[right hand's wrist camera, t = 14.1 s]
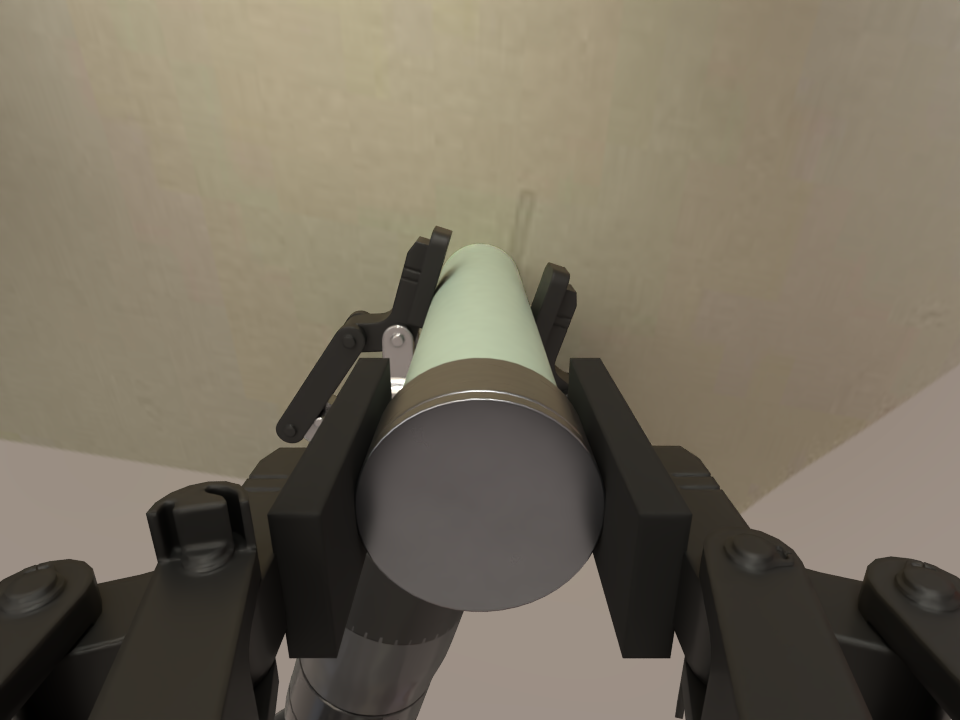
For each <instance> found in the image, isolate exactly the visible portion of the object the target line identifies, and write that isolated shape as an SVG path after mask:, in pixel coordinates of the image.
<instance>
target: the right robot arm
mask: <svg viewBox="0 0 960 720" xmlns="http://www.w3.org/2000/svg"><path fill="white" fill-rule="evenodd" d="M391 400H392V390H391V373H390V358H359V360H358V362H357V363H356V365H355V367H354V369H353V370H352V372H351V374H350V375H349V377H348V379H347V380H346V382H345V384H344V385H343V387H342V389H341V390H340V392H339V394H338V396H337V397H336V399H335V401H334V402H333V404H332V406H331V407H330V409H329V411H328V412H327V414H326V416H325V417H324V419H323V421H322V423H321V424H320V426H319V428H318V429H317V431H316V433H315V434H314V436H313V438H312V439H311V441H310V443H309V444H308V446H307V448H279V449H277V450H276V451H274V452H273V453H271V454H270V455H268V456H267V457H265V458H264V459H262V460H261V461H260V462H259V463H258V465H257V466H256V467H255V469H254V470H253V471H252V473H251V474H250V476H249V479H247V480H246V481H245V483H244V484H243V485H242V486H240V485H239V484H235V483H230V482H227V481H216V482H204V483H199V484H195V485H190V486H187V487H185V488H182V489H179V490H177V491H174V492H172V493H170V494H168V495H167V496H165V497H163V498H162V499H160V500H159V501H157V502H156V503H155V504H154V505H153V506H152V507H151V508H150V509H149V511H148V512H147V513H146V516H147V520H148V524H149V528H150V532H151V536H152V540H153V544H154V548H155V552H156V556H157V561H158V564H157V566H156V568H155V570H154V571H152V572H148V573H145V574H141V575H137V576H132V577H127V578H123V579H118V580H113V581H109V582H104V583H99V584H97V581H96V578H95V575H94V571H93V569H92V568H91V567H90V566H89V565H88V564H87V563H85V562H84V561H78V560H72V559H66V560H57V561H49V562H45V563H41V564H39V565H34V566H31V567H28V568H25V569H23V570H22V571H20V572H18V573H16V574H14V575H12V576H10V577H7V578H5V579H3V580H2V581H1V582H0V720H274V719H275V711H276V702H277V693H278V685H279V679H278V671H277V665H276V659H275V657H276V654H277V652H278V649H279V647H280V645H281V642H282V640H283V637H284V635H285V633H286V639H287V646H288V652H289V658H337V656H338V652H339V649H340V645H341V642H342V638H343V635H344V631H345V628H346V624H347V621H348V617H349V614H350V610H351V607H352V603H353V600H354V596H355V593H356V589H357V585H358V582H359V578H360V575H361V571H362V568H363V564H364V561H365V557H366V554H367V551H366V549H365V547H364V545H363V543H362V540H361V538H360V535H359V533H358V529H357V524H356V515H355V504H354V498H355V489H356V484H357V480H358V476H359V473H360V471H361V468H362V466H363V463H364V460H365V458H366V455H367V452H368V450H369V447H370V444H371V442H372V439H373V437H374V434H375V431H376V429H377V426H378V424H379V421H380V419H381V416H382V414H383V412H384V410H385V409H386V407H387V405H388V404H389V402H390V401H391ZM568 400H569V401H570V402H571V404H572V405H573V407H574V409H575V411H576V412H577V414H578V416H579V419H580V421H581V424H582V426H583V429H584V432H585V434H586V437H587V440H588V442H589V445H590V448H591V450H592V453H593V455H594V458H595V461H596V463H597V466H598V469H599V471H600V474H601V477H602V480H603V484H604V489H605V512H604V522H603V528H602V532H601V535H600V538H599V540H598V542H597V545H596V547H595V549H594V551H593V555H594V558H595V562H596V566H597V569H598V573H599V576H600V579H601V583H602V587H603V590H604V594H605V597H606V601H607V604H608V608H609V611H610V615H611V618H612V622H613V625H614V629H615V632H616V636H617V639H618V643H619V646H620V650H621V653H622V657H623V658H670V656H671V650H672V643H673V637H674V631H675V633H676V635H677V638H678V640H679V643H680V645H681V647H682V650H683V652H684V655H685V659H684V665H683V671H682V677H681V683H680V689H679V694H678V700H677V707H676V714H675V717H676V718H681V719H683V714H684V709H685V718H686V720H951V719H952V720H960V579H959V578H958V577H956V576H954V575H952V574H950V573H948V572H946V571H944V570H942V569H940V568H938V567H936V566H934V565H931V564H928V563H926V562H924V563H923V562H921V561H918V560H914V559H909V558H900V557H885V558H879V559H875V560H874V561H873V562H872V563H871V564H869V565H868V566H867V570H866V573H865V577H864V580H863V581H858V580H854V579H849V578H844V577H839V576H835V575H830V574H825V573H820V572H817V571H813V570H810V569H806V568H805V567H804V565H803V563H802V561H801V560H800V558H799V557H798V556H797V554H796V553H795V552H794V550H793V549H791V548H790V547H788V546H787V545H786V544H784V543H783V542H782V541H780V540H779V539H777V538H775V537H773V536H770V535H768V534H766V533H764V532H761V531H757V530H753V529H750V528H749V526H748V525H747V524H746V522H745V521H744V519H743V518H742V517H741V515H740V514H739V512H738V511H737V510H736V508H735V507H734V506H733V504H732V503H731V501H730V500H729V499H728V497H727V496H726V494H725V493H724V492H723V490H720V486H719V485H718V483H717V482H716V481H715V479H714V478H713V477H711V474H710V472H709V471H708V470H707V468H706V467H705V466H704V464H703V463H702V461H701V460H700V459H699V458H698V457H696V456H695V455H693V454H692V453H690V452H689V451H687V450H686V449H684V448H683V447H681V446H652V445H651V443H650V442H649V440H648V438H647V437H646V435H645V433H644V432H643V430H642V428H641V427H640V425H639V423H638V421H637V420H636V418H635V416H634V415H633V413H632V411H631V410H630V408H629V406H628V405H627V403H626V401H625V400H624V398H623V396H622V394H621V393H620V391H619V389H618V388H617V386H616V384H615V383H614V381H613V379H612V378H611V376H610V374H609V373H608V371H607V369H606V367H605V366H604V364H603V362H602V361H601V359H600V358H570V368H569V385H568Z"/></svg>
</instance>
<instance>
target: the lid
mask: <svg viewBox="0 0 960 720" xmlns="http://www.w3.org/2000/svg"><path fill="white" fill-rule="evenodd" d="M354 504H355V515H356V524H357V529H358V533H359V535H360V538H361V540H362V543H363V545H364V547H365V549H366V551H367V552H368V554H369V556H370V558H371V559H372V560H373V562H374V563H375V564H376V565H377V567H378V568H379V569H380V570H381V571H382V572H383V573H384V574H385V575H386V576H387V577H388V578H389V579H390V580H391V581H392V582H394V583H395V584H396V585H398V586H399V587H400V588H402V589H403V590H405V591H407V592H408V593H410V594H412V595H413V596H415V597H417V598H420V599H422V600H424V601H426V602H429V603H432V604H435V605H438V606H441V607H445V608H450V609H454V610H462V611H471V612H488V611H499V610H505V609H510V608H515V607H519V606H522V605H525V604H528V603H531V602H534V601H536V600H538V599H540V598H543V597H545V596H546V595H548V594H550V593H552V592H553V591H555V590H557V589H558V588H560V587H561V586H562V585H564V584H565V583H566V582H568V581H569V580H570V579H571V578H572V577H573V576H574V575H575V574H576V573H577V572H578V571H579V570H580V569H581V568H582V567H583V565H584V564H585V563H586V562H587V560H588V559H589V557H590V556H591V554H592V552H593V551H594V549H595V547H596V545H597V542H598V540H599V538H600V535H601V532H602V528H603V522H604V512H605V489H604V484H603V480H602V477H601V474H600V471H599V469H598V466H597V463H596V461H595V458H594V455H593V453H592V450H591V448H590V445H589V442H588V440H587V437H586V434H585V432H584V429H583V426H582V424H581V421H580V419H579V416H578V414H577V412H576V411H575V409H574V407H573V405H572V404H571V402H570V401H569V400H568V398H567V397H566V396H565V395H564V393H563V392H562V391H561V390H560V389H559V388H558V387H556V386H555V385H554V384H553V383H552V382H550V381H549V380H548V379H546V378H545V377H544V376H542V375H540V374H539V373H537V372H535V371H533V370H531V369H529V368H527V367H524V366H522V365H519V364H517V363H513V362H509V361H505V360H500V359H492V358H468V359H460V360H455V361H451V362H447V363H443V364H441V365H438V366H436V367H433V368H430V369H429V370H427V371H425V372H423V373H421V374H419V375H418V376H416V377H415V378H414V379H412V380H411V381H409V382H408V383H407V384H406V385H405V386H404V387H402V388H401V389H400V390H399V391H398V392H397V393H396V395H395V396H394V397H393V398H392V400H391V401H390V402H389V404H388V405H387V407H386V409H385V410H384V412H383V414H382V416H381V419H380V421H379V424H378V426H377V429H376V431H375V434H374V437H373V439H372V442H371V444H370V447H369V450H368V452H367V455H366V458H365V460H364V463H363V466H362V468H361V471H360V473H359V476H358V480H357V484H356V489H355V498H354Z"/></svg>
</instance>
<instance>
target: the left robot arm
mask: <svg viewBox="0 0 960 720" xmlns="http://www.w3.org/2000/svg"><path fill="white" fill-rule="evenodd" d="M451 235H452V231H451V230H448V229H445V228H442V227H439V226H436V227H435V228H434V230H433V233H432V236H431V239H427V238H424V237H421V236H420V237H419V238H418V240H417V241H416V242H415V243H414V245H413V246H412V247H411V249H410V250H409V251H408V253H407V257H406V260H405V264H404V268H403V272H402V275H401V279H400V283H399V286H398V290H397V294H396V298H395V301H394V305H393V309H391V310H390V311H388V312H386V313H381V314H370V313H368V312H366V311H356V312H354V313H352V314H351V315H350V317H349V318H348V319H347V321H346V322H345V324H344V325H343V326H342V327H341V328H340V329H339V330H338V331H337V333H336V334H335V336H334V337H333V339H332V340H331V342H330V343H329V345H328V346H327V348H326V349H325V351H324V353H323V354H322V356H321V357H320V359H319V360H318V362H317V363H316V365H315V366H314V368H313V369H312V371H311V373H310V374H309V376H308V377H307V379H306V380H305V382H304V383H303V385H302V386H301V388H300V389H299V391H298V393H297V394H296V396H295V397H294V399H293V400H292V402H291V403H290V405H289V406H288V408H287V409H286V411H285V413H284V414H283V416H282V417H281V419H280V420H279V422H278V423H277V426H276V432H277V434H278V436H279V437H280V438H281V439H282V440H283V441H285V442H288V443H297V442H299V441H301V440H302V439H303V438H304V439H306V440H308V441H311V439H312V438H313V436H314V434H315V433H316V431H317V429H318V428H319V426H320V424H321V423H322V421H323V419H324V417H325V416H326V414H327V412H328V411H329V409H330V407H331V406H332V404H333V402H334V401H335V399H336V397H337V396H336V395H333V393H334V392H335V390H336V389H337V387H338V386H339V384H340V383H341V381H342V380H343V378H344V377H345V375H346V374H347V372H348V371H349V369H350V368H351V367H352V365H353V364H354V362H355V361H356V359H357V358H358V356H359V355H360V353H361V352H381V351H383V358H390V373H391V390H392V398H393V397H394V396H395V395H396V393H397V392H398V391H399V390H400V389H401V388H402V387H403V385H404V382H405V379H406V376H407V373H408V370H409V367H410V364H411V361H412V358H413V355H414V352H415V349H416V346H417V343H418V340H419V328H423V325H424V322H425V319H426V316H427V313H428V310H429V307H430V304H431V302H432V299H433V296H434V293H435V289H436V286H437V283H438V279H439V276H440V272H441V269H442V266H443V262H444V259H445V255H446V252H447V249H448V245H449V242H450V238H451ZM569 279H570V274H569V272H568V271H567V270H566V268H565V267H562V266H559V265H556V264H552V263H548V264H547V265H546V267H545V270H544V272H543V275H542V278H541V281H540V284H539V286H538V289H537V292H536V295H535V297H534V300H533V303H532V306H531V311H532V314H533V317H534V320H535V323H536V326H537V329H538V332H539V335H540V338H541V341H542V344H543V347H544V350H545V353H546V356H547V359H548V362H549V365H550V368H551V371H552V374H553V377H554V379H555V382H556V385H557V387H558V388H559V389H560V390H561V391H562V392H563V393H564V395H565V396H566V397H567V398H568V385H569V373H566V372H563V371H562V370H560V369H559V368H558V367H557V366H555V361H556V358H557V355H558V353H559V350H560V348H561V345H562V342H563V340H564V337H565V335H566V332H567V329H568V327H569V324H570V322H571V319H572V317H573V314H574V311H575V309H576V306H577V297H576V291H575V290H574V288H573V287H572V286H571V285H570V284H568V283H569ZM462 614H463V611H462V610H454V609H450V608H445V607H441V606H438V605H435V604H432V603H429V602H426V601H424V600H422V599H420V598H417V597H415V596H413V595H412V594H410V593H408V592H407V591H405V590H403V589H402V588H400V587H399V586H398V585H396V584H395V583H394V582H392V581H391V580H390V579H389V578H388V577H387V576H386V575H385V574H384V573H383V572H382V571H381V570H380V569H379V568H378V567H377V565H376V564H375V563H374V562H373V560H372V559H371V558H370V556H369V554H368V552H367V554H366V557H365V561H364V564H363V568H362V571H361V575H360V578H359V582H358V585H357V589H356V593H355V596H354V600H353V603H352V607H351V610H350V614H349V617H348V621H347V624H346V628H345V631H344V635H343V638H342V642H341V645H340V649H339V652H338V656H337V658H297V659H296V663H295V667H294V671H293V674H292V677H291V680H290V684H289V688H288V692H287V697H286V705H285V708H284V709H283V710H281V711H279V712H278V713H276V714H275V719H274V720H416V718H417V716H418V713H419V711H420V708H421V705H422V703H423V700H424V698H425V695H426V693H427V690H428V687H429V685H430V682H431V680H432V678H433V676H434V674H435V672H436V671H437V669H438V668H439V666H440V665H441V663H442V661H443V659H444V658H445V656H446V654H447V651H448V649H449V647H450V644H451V642H452V639H453V637H454V634H455V632H456V629H457V627H458V624H459V622H460V619H461V617H462Z"/></svg>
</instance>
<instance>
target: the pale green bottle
mask: <svg viewBox="0 0 960 720" xmlns="http://www.w3.org/2000/svg"><path fill="white" fill-rule="evenodd" d="M468 358H492V359H500V360H505V361H509V362H513V363H517V364H519V365H522V366H524V367H527V368H529V369H531V370H533V371H535V372H537V373H539V374H540V375H542V376H544V377H545V378H546V379H548V380H549V381H550V382H552V383H553V384H554V385H555V386H556V387H557V385H556V382H555V379H554V377H553V374H552V371H551V368H550V365H549V362H548V359H547V356H546V353H545V350H544V347H543V344H542V341H541V338H540V335H539V332H538V329H537V326H536V323H535V320H534V317H533V314H532V311H531V308H530V305H529V302H528V299H527V296H526V293H525V290H524V287H523V284H522V281H521V278H520V275H519V272H518V269H517V267H516V264H515V263H514V261H513V260H512V259H511V257H510V256H509V255H508V254H507V253H505V252H504V251H503V250H501V249H499V248H497V247H495V246H492V245H488V244H472V245H468V246H465V247H463V248H461V249H459V250H457V251H456V252H454V253H453V254H452V255H451V256H450V257H449V259H448V260H447V261H446V263H445V264H444V266H443V269H442V271H441V274H440V277H439V280H438V283H437V286H436V289H435V293H434V296H433V299H432V302H431V304H430V307H429V310H428V313H427V316H426V319H425V322H424V325H423V328H422V331H421V334H420V337H419V340H418V343H417V346H416V349H415V352H414V355H413V358H412V361H411V364H410V367H409V370H408V373H407V376H406V379H405V382H404V385H403V387H404V386H405V385H406V384H407V383H408V382H409V381H411V380H412V379H414V378H415V377H416V376H418V375H419V374H421V373H423V372H425V371H427V370H429V369H430V368H433V367H436V366H438V365H441V364H443V363H447V362H451V361H455V360H460V359H468Z"/></svg>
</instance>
